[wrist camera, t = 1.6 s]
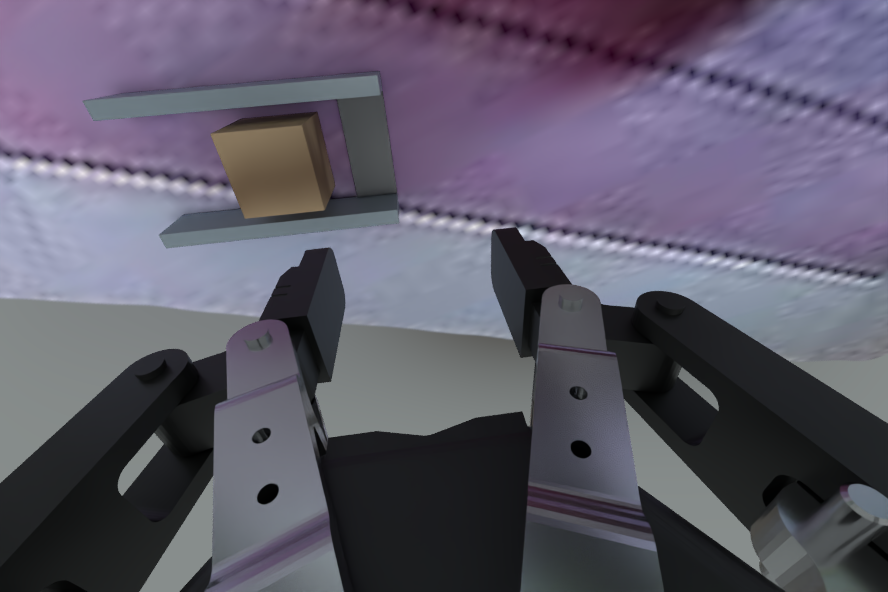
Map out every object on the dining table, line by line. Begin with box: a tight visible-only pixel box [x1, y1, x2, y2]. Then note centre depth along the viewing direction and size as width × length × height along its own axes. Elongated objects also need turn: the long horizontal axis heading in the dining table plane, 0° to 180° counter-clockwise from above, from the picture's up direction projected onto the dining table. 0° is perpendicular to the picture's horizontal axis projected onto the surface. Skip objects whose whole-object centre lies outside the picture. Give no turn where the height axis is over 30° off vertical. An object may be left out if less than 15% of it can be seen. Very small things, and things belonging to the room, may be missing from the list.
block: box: [211, 112, 335, 219], centre depth 24 cm, size 5×5×5 cm
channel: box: [83, 71, 399, 248], centre depth 24 cm, size 9×16×4 cm, turn 94°
